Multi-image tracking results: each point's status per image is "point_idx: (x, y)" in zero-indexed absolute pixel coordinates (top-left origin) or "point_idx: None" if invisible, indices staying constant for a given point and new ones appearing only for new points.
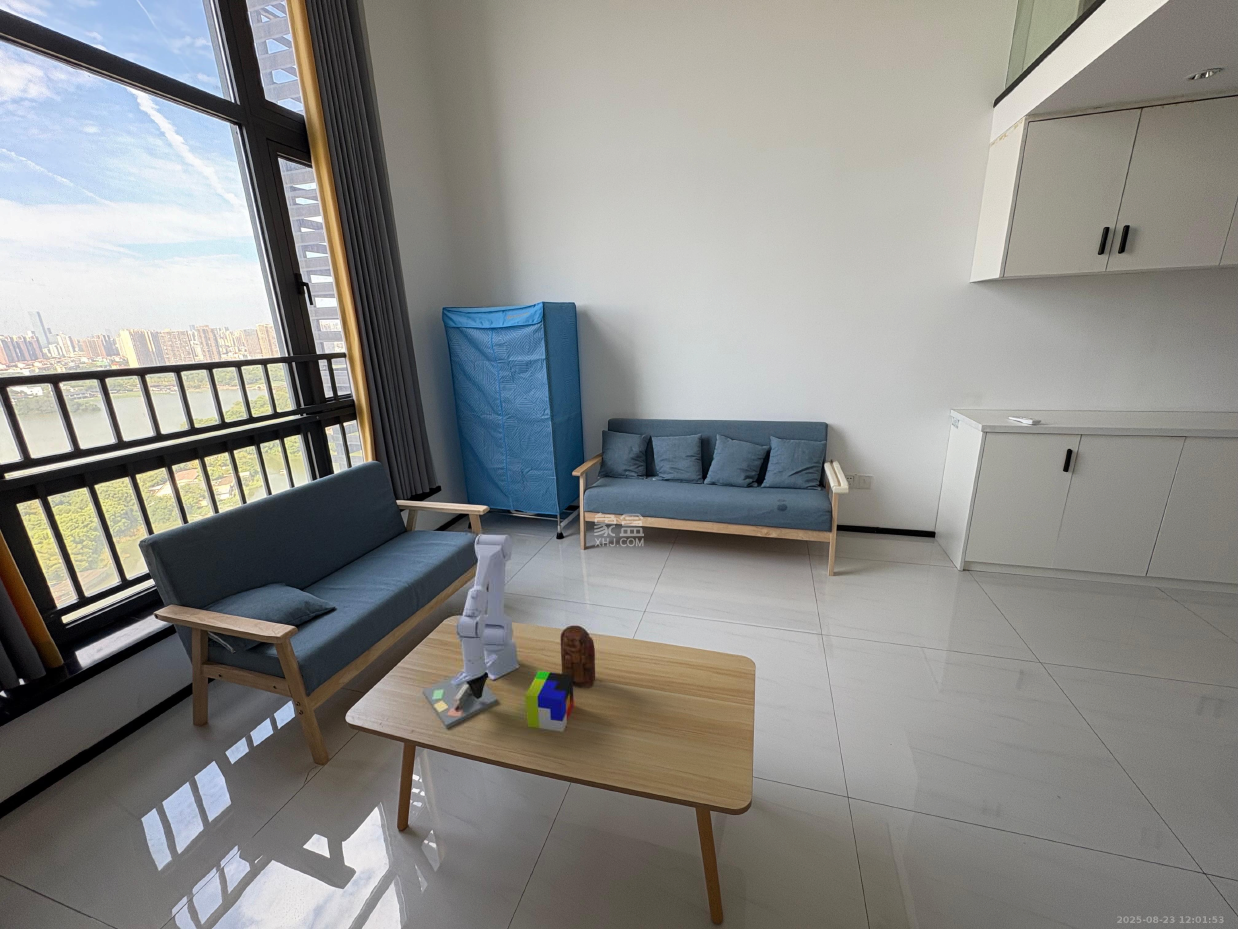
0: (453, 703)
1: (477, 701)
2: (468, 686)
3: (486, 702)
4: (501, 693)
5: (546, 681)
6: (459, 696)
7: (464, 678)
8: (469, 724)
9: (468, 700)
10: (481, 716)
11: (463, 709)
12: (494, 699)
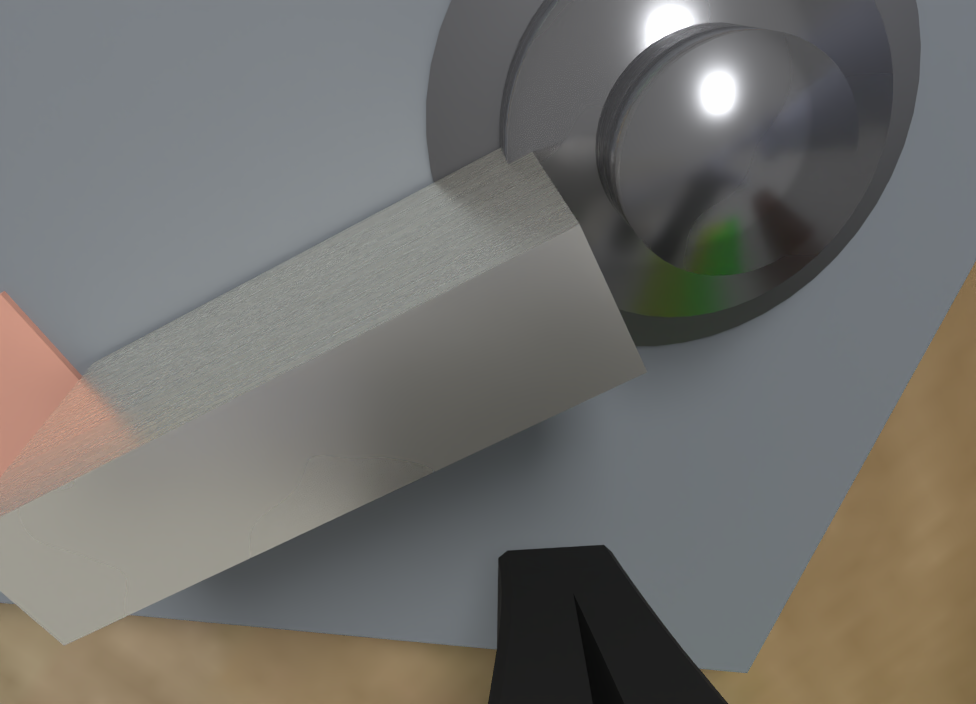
0: (125, 188)
1: (523, 514)
2: (610, 368)
3: None
4: (909, 522)
5: None
6: (122, 576)
7: None
8: (178, 667)
9: None
10: (392, 662)
11: None
12: (715, 657)
